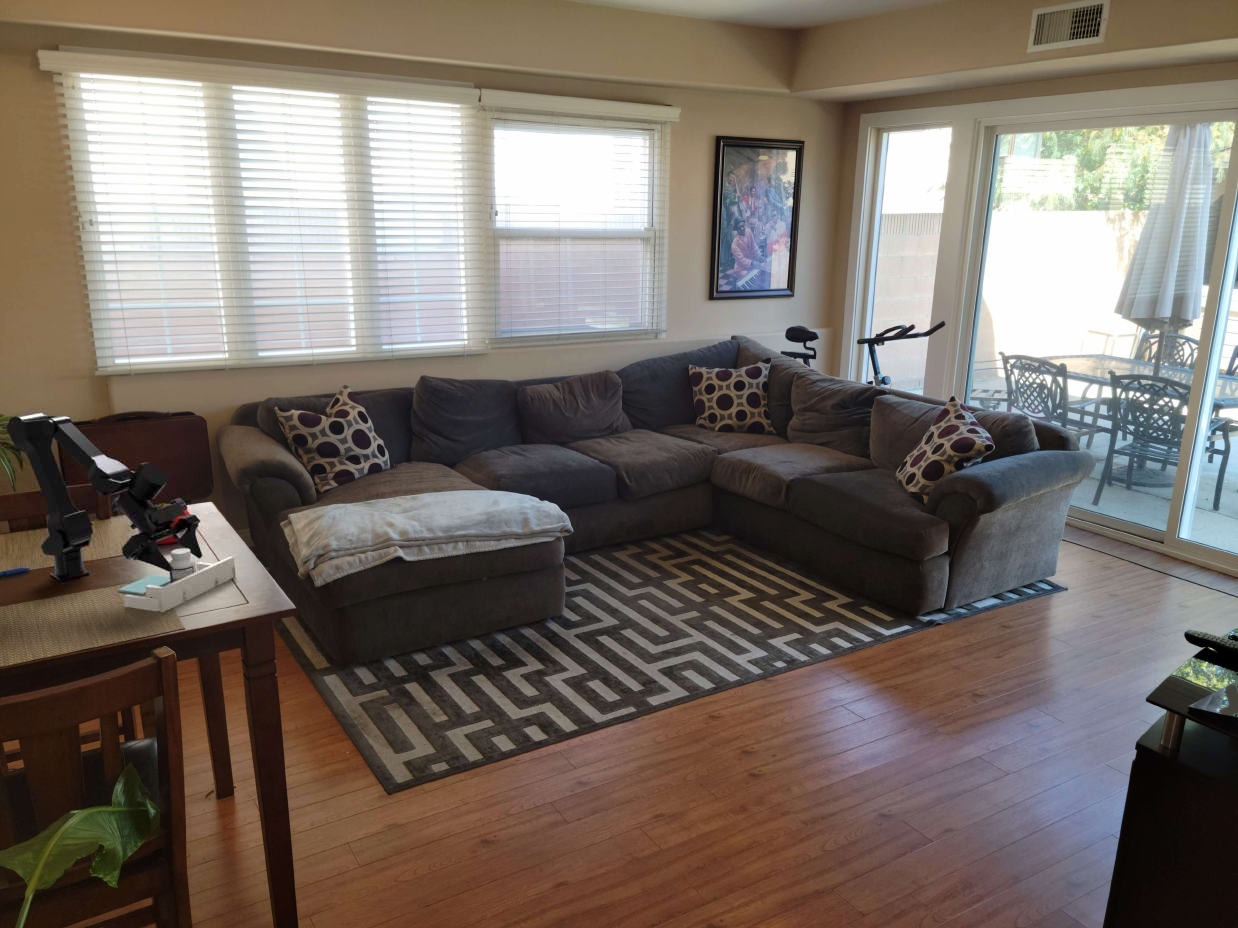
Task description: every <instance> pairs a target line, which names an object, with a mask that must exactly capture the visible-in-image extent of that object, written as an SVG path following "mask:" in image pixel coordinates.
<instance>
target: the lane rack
mask: <svg viewBox="0 0 1238 928" xmlns="http://www.w3.org/2000/svg"><path fill="white" fill-rule="evenodd" d="M196 566H197V567H196V568H197V570H196V572H195V573H193V574H191V575H189V576H186V577H184V578H182V579H180V580H178V581H175V582H173V583H169V584H167V585H165V586H162V587H160V586H153V585H147V586H145V587H146V594H145V595H146V596H144V595H137V594H130V593H126V594H125V595H124V598H123V599H124V606H125V608H131V609H138V610H145V611H151V610H152V611H153V612H157V611H160V612H159V613H164V611H165V612H167V611H168V610H171V609H173V608H175V607H176V606H178V605H181V604H183V603H184V602H187V601H189V600H191V599H194V598H196V597H197V596H199V595H201V594H203V593H206V592H207V591H210V590H212V589H213V588H215V587H218V586H219V585H222V584H223V583H226V582H227V581H229V580H232V579H234V578H236V569H235V568H236V567H235V566H236V564H235V556H229V557H226V558H224V559H222V560H220V561H217V562H215V563H208V562H201V561H199V562H197V563H196ZM151 597H152V598H151ZM166 610H167V611H166Z"/></svg>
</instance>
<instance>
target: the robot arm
mask: <svg viewBox="0 0 1238 928" xmlns="http://www.w3.org/2000/svg"><path fill="white" fill-rule="evenodd" d="M6 431H7V434H8V436H9V438H10V439H11V440H12V442H13V444H14V446H15V447H16V448H17V449H19V450H20V451H22V452H23V453H24V454H25V455H26V457H27V459H28V461H29V463H30V466H31V468H32V471H33V473H34V477H35V478H36V482H37V483H38V486H39V489H40V491H41V494H42V496H43V498H44V501H45V504H46V506H47V509H48V511H49V516H48V521H47V524H46V526H47V530H48V534H49V535H48V537H47V538H46V539H45V540H44V542H43V543H42V544H41V546H40V548H41V550H42V552H43V554H44V555H47V556H53V561H54V568H55V569H54V570H55V571H51V572H50V576H52V577H54V578H56V579H57V580H58V581H65V580H70V579H73V578H78V577H82V576H86V575H90V574H91V572H90V571H89V570H87V569H86V568H85V567H84V560H83V553H82V549H83V548H85V547H90V545H91V544H90V543H91V539H92V538H91V537H92V535H93V533H94V532H93V526H94V524H93V522H91V519H90V517H89V512H88V511H87V510H86V509H84V510H80V509H79V508H77V506H75V505H74V503H73V501H72V498H71V496H70V493H69V492H70V491H69V490H68V488H67V485H66V482H65V481H64V477H63V475H62V473H61V471H60V466H59V465H58V461H57V459H56V457H55V455H54V452H53V449H52V445H53V442H54V441H53V440H55V441H56V442H57V443H58V444H59V446H61V447H62V448H63V449H64V450H65V451H66V452H67V453H68V454H69V455H70V456H71V457H72V458H73V459H74V460H76V462H77V463H78V464H79V465H80V466H81V467H82V468H83V469H84V470H85V471H86V472H87V478H88V479H87V480H88V482H89V483H90V485H91V486H92V487H93V488H94V490H95V491H96V492H97V493H98V494H99V495H101V496H102V497H104V496H108V497H109V496H112V495H115V494H118V493H120V494H119V495H118V497H115V498H111V505H110V510H111V512H115V511H118V510H120V511H122V513H123V514H124V515H125V516H126V517H127V518H128V520H129V521H130V522H131V525H130V526H129V527H130V529H132V530H136V529H137V530H139V531H140V532H141V533H139V531H138V533H136V534H134V535H131V536H130V538H129V539H128V540H127V541H126V542H125V544H124V545H123V546H122V547H121V555H123V556H124V557H125V558H126V560H127V561H129V560H131V559H132V560H133V561H140V562H143V563H146V564H148V565H151V566H154V567H157V568H159V569H161V570H163V571H166V572H169V573H170V571H172V569H173V568H172V566H171V565H170V563H169V562H170V561H168V559H166V557H165V556H164V555H163V553H162V552H161V551H160V550H159V547H158V544H157V541H160V540H162V539H165V538H168V537H170V536H173V537H174V538H175V539H178V541H176V543H177V544H179V545H180V547H182V548H188V549H190V552H191V555H193V556H194V557H196V558H197V559H202V558H203V553H202V550H201V548H200V545H199V541H198V540H197V539H198V538H197V535H196V534H197V533H196V532H197V529H198V528H199V524H200V523H201V520H200V519H199V518H198V517H197V515H196V514H191V513H190V515H187V516H185V517H182V518H180V519H179V520H178V521H177V523H176V524H175V525H174V526H173V527H171V524H173V523H174V522H175V521H176V520H175V519H174V518H177V517H179V516H181V515H182V516H183V515H185V512H184V511H185V510H188V506H187V504H186V501H184V500H183V499H182V498H181V497H179V498H176V499H174V500H170V503H169V504H170V505H169V506H166V507H164V508H162V507H161V506H159V505H160V504H157V505H158V506H155V505H154V504H153V503H152V502H151V500H154V499H155V498H156V497H157V496H158V494H159V493H161V491H162V490H163V488H164V487H165V486H166V485H167V484H168V482H169V479H170V478H169V475H168V474H167V472H166V471H165V470H164V469H162V468H160V467H157V466H154V465H151V464H150V463H149V462H147V461H146V462H143V463H140V464H139V465H138V467H137V469H136V470H135V471H133V470H131V469H130V468H129V467H127V466H125V464H124V463H121V462H120V461H118V460H116V459H113V458H110V457H107V456H106V455H105V454H104V453H103V452H102V451H100V449H98V447H97V446H95V444H94V443H92V442H91V441H90V439H88V437H86V435H84V434H83V433H82V432H81V431H80V430H79V429H78V428H77V427H76V426H75V425H74V423H73V421H72V419H71V418H70V417H68V416H65V415H46V414H44V413H42V412H34V413H27V414H22V415H15V416H13V417H11V418H10V419H9V420H8V423H7V424H6ZM154 506H155V507H154Z"/></svg>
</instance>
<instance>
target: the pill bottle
mask: <svg viewBox="0 0 1238 928" xmlns="http://www.w3.org/2000/svg"><path fill="white" fill-rule="evenodd" d="M191 555H192V554H191V552H190V549H188V548H184V547H182V548H176V549H173V550H172V551H170V558H171V560H170V561H168V562H169V563H170V565H171V566H172V568H173V569H172V571H170V572H169V577H170V581H171V583H173V582H175V581H178V580H180V579H182V578H184V577H186V576H189V575H191V574H193V573H195V572H197V570H196V568H197V567H196V561H195V559H194V558H192V557H191ZM171 583H170V584H171Z"/></svg>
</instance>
